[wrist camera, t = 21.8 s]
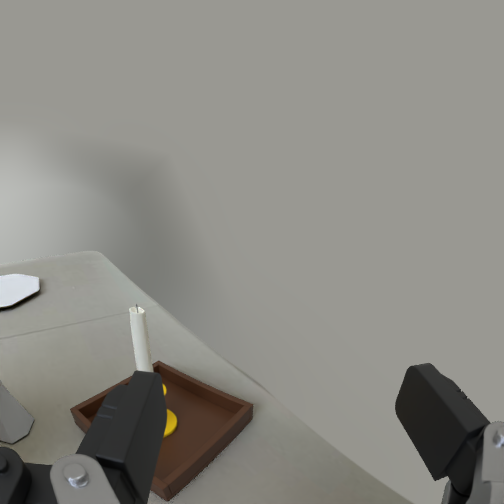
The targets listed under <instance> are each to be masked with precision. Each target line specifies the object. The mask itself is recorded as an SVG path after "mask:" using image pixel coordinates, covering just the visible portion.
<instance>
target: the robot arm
mask: <svg viewBox="0 0 504 504" xmlns="http://www.w3.org/2000/svg"><path fill="white" fill-rule="evenodd" d="M101 405H102V406H101V407H100V408H99V410H98V412H97V414H96V416H95V417H94V419H93V421H92V423H91V425H90V427H89V429H88V431H87V433H86V435H85V436H84V438H83V440H82V442H81V444H80V446H79V448H78V450H77V452H76V453H75V454H70V455H66V456H64V457H62V458H60V459H58V460H57V461H56V462H55V463H54V465H43V464H33V463H24V462H23V461H22V459H21V458H20V456H19V455H18V454H17V453H16V452H15V451H14V450H12V449H10V448H7V447H0V504H147V502H148V498H149V493H150V489H151V485H152V481H153V476H154V472H155V468H156V464H157V460H158V456H159V452H160V448H161V444H162V440H163V437H164V433H165V429H166V424H167V407H166V401H165V396H164V390H163V384H162V378H161V375H160V373H155V372H146V371H137V370H136V371H135V372H134V374H133V376H132V378H131V380H130V382H129V384H128V385H123V384H119V385H117V386H116V387H115V388H113V389H112V390H111V391H110V392H108V393H107V395H106V397H105V399H104V401H103V402H102V404H101ZM395 410H396V415H397V417H398V418H399V420H400V422H401V423H402V425H403V427H404V429H405V430H406V432H407V434H408V435H409V437H410V439H411V440H412V442H413V444H414V446H415V447H416V449H417V451H418V452H419V454H420V456H421V458H422V459H423V461H424V463H425V465H426V466H427V468H428V470H429V472H430V473H431V475H432V477H433V479H434V480H435V481H436V480H439V479H441V478H444V477H446V476H448V477H449V479H450V480H449V481H448V482H447V484H446V486H445V490H444V495H443V499H442V503H441V504H504V422H493V423H490V422H489V421H488V420H487V418H486V417H485V416H484V415H483V414H482V413H481V412H480V410H479V409H478V408H477V407H476V406H475V405H474V404H473V402H471V400H470V399H467V396H466V395H465V394H464V392H463V391H462V392H461V389H459V387H458V386H457V385H456V384H455V383H454V382H453V381H452V380H450V379H449V378H447V377H445V376H444V375H442V374H440V373H439V371H438V370H437V369H436V368H435V367H434V366H433V365H432V364H430V363H426V364H420V365H414V366H410V367H409V368H408V369H407V371H406V374H405V377H404V380H403V383H402V386H401V388H400V391H399V394H398V397H397V399H396V405H395Z"/></svg>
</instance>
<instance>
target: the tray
mask: <svg viewBox="0 0 504 504" xmlns="http://www.w3.org/2000/svg"><path fill="white" fill-rule="evenodd" d="M152 365H153V371H154V372H155V373H160V375H161V378H162V384H164V385H165V387H166V394H165V401H166V407H167V409H168V410H170V411H171V412H173V413H174V415H175V416H176V418H177V428H176V429H175V431H174V432H173V433H172V434H170V435H169V436H167V437H164V438H163V440H162V444H161V448H160V452H159V456H158V460H157V464H156V468H155V472H154V476H153V481H152V485H151V489H150V490H152V491H153V492H154V493H156V494H157V495H158V496H160V497H161V498H163V499H164V500H166V501H169V500H170V499H171V498H172V497H173V496H174V495H176V494H177V493H178V492H179V491H180V490H181V489H182V488H184V487H185V486H186V485H187V484H188V483H189V482H190V481H191V480H192V479H193V478H194V477H196V476H197V475H198V474H199V473H200V472H201V471H202V470H203V469H204V468H205V467H206V466H207V465H208V464H209V463H210V462H211V461H212V460H213V459H214V458H215V457H216V456H217V455H218V454H219V453H220V452H221V451H222V450H223V449H224V448H225V447H226V446H227V445H228V444H229V443H230V442H231V441H232V440H233V439H234V438H235V437H236V436H237V435H238V434H239V433H240V432H241V431H242V430H243V429H244V427H245V426H246V425H247V424H248V423H249V422H250V421H251V420H252V418H253V404H251V403H249V402H246V401H244V400H241V399H239V398H236V397H234V396H232V395H229V394H227V393H225V392H222V391H220V390H218V389H216V388H213V387H211V386H209V385H207V384H205V383H202V382H200V381H198V380H196V379H194V378H192V377H190V376H188V375H186V374H184V373H182V372H180V371H178V370H176V369H174V368H172V367H170V366H168V365H166V364H164V363H162V362H160V361H157V362H155V363H153V364H152ZM132 376H133V375H132ZM132 376H130V377H129V378H127V379H125V380H123V381H121V382H120V383H118V384H116V385H114V386H112V387H110V388H109V389H107V390H105V391H103V392H101V393H99V394H97V395H95V396H94V397H92V398H90V399H88V400H86V401H84V402H82V403H80V404H78V405H76V406H75V407H73V408H71V409H70V411H71V413H72V415H73V418H74V420H75V423H76V424H77V425H78V426H79V427H80V428H81V429H82V430H83V431H84V432H85V434H86V433H87V431H88V429H89V427H90V425H91V423H92V421H93V419H94V417H95V416H96V414H97V412H98V410H99V408H100V407H101V406H102V405H101V404H102V402H103V401H104V399H105V397H106V395H107V393H108V392H110V391H111V390H112V389H113V388H115V387H116V386H117V385H119V384H123V385H128V384H129V382H130V380H131V378H132Z"/></svg>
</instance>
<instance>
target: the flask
mask: <svg viewBox="0 0 504 504" xmlns="http://www.w3.org/2000/svg"><path fill="white" fill-rule="evenodd" d="M33 421H34V418H33V417H32V416H31V415H30V414H29V413H28V412H27V411H26V410H25V408H24V407H23V406H22V405H21V404H20V403H19V402H18V401H17V400H16V399H15V398H14V397H13V396H12V395H11V394H10V392H9V391H8V390H7V389H6V388H5V386H4V385H3V384H2V382H1V381H0V440H1V441H4V442H8V443H14V442H16V441H17V440H19V439H20V438H22V437H24V436H25V435H27V434H28V433H29V430H30V428H31V425H32V423H33Z"/></svg>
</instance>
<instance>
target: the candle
mask: <svg viewBox="0 0 504 504" xmlns="http://www.w3.org/2000/svg"><path fill="white" fill-rule="evenodd" d="M129 310H130V322H131V331H132V338H133V346H134V352H135V359H136V365H137V371H146V372H154V371H153V365H152V358H151V352H150V344H149V337H148V329H147V322H146V316H145V311H144V309H142V308H140V307H137V304H136V307H131V308H130V309H129ZM163 390H164V396H165V394H166V387H165V385H164V384H163ZM176 428H177V418H176V416H175V415H174V413H173V412H171V411H170V410H168V409H167V424H166V429H165V433H164V437H167V436H169V435H170V434H172V433H173V432H174V431H175V429H176ZM164 437H163V438H164Z"/></svg>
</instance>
